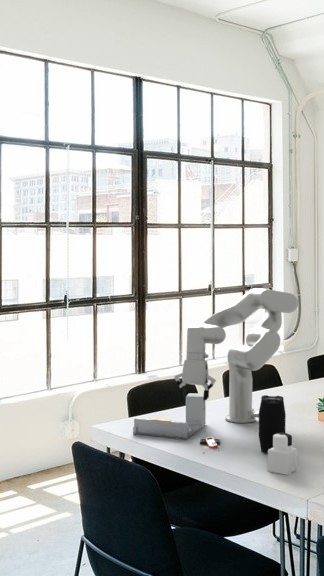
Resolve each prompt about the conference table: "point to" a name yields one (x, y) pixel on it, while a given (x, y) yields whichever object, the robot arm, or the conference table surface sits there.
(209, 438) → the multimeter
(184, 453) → the conference table surface
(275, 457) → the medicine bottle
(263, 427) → the portable speaker
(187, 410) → the supplement box
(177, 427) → the grey tray
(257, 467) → the conference table surface
